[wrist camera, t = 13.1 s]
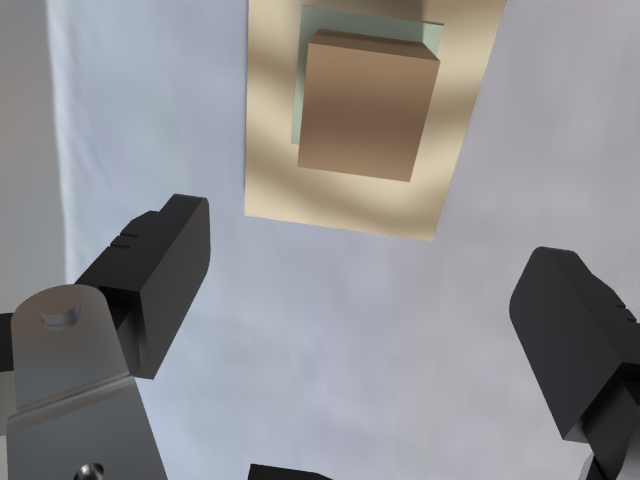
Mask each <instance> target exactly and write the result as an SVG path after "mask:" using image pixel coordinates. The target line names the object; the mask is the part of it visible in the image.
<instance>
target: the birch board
mask: <svg viewBox="0 0 640 480" xmlns="http://www.w3.org/2000/svg"><path fill="white" fill-rule="evenodd" d="M506 2H507V0H249V21H248V69H247V117H246V165H245V213H244V215H245V216H253V217H260V218H267V219H274V220H282V221H289V222H296V223H303V224H311V225H318V226H325V227H332V228H339V229H347V230H354V231H361V232H368V233H376V234H383V235H390V236H397V237H405V238H412V239H419V240H426V241H432V239H433V236H434V233H435V230H436V227H437V223H438V220H439V217H440V214H441V210H442V207H443V204H444V201H445V198H446V194H447V191H448V188H449V185H450V182H451V178H452V175H453V172H454V169H455V166H456V162H457V159H458V156H459V153H460V149H461V146H462V143H463V140H464V137H465V133H466V130H467V127H468V124H469V121H470V117H471V114H472V111H473V108H474V105H475V101H476V98H477V95H478V92H479V88H480V85H481V82H482V79H483V76H484V72H485V69H486V66H487V63H488V60H489V56H490V53H491V50H492V47H493V43H494V40H495V37H496V34H497V31H498V27H499V24H500V21H501V18H502V15H503V11H504V8H505V5H506ZM319 28H320V29H327V30H334V31H341V32H348V33H356V34H363V35H370V36H377V37H385V38H392V39H399V40H406V41H414V42H421V43H424V44H425V45H426V46H427V48H428V49H429V50H430V51H431V52H432V53H433V54H434V55H435V56H436V57H437V58H438V59H439V60H440V61H441V62H440V66H439V70H438V74H437V78H436V82H435V86H434V90H433V94H432V97H431V101H430V105H429V109H428V113H427V117H426V121H425V125H424V129H423V133H422V137H421V141H420V145H419V149H418V153H417V156H416V160H415V164H414V168H413V172H412V176H411V180H410V182H404V181H396V180H389V179H382V178H375V177H367V176H360V175H353V174H346V173H338V172H331V171H324V170H317V169H309V168H302V167H297V163H298V152H299V141H300V131H301V120H302V109H303V98H304V87H305V76H306V66H307V55H308V44H309V42H310V40H311V39H312V37H313V36H314V35H315V33H316V32H317V30H318V29H319Z"/></svg>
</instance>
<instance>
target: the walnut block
mask: <svg viewBox="0 0 640 480" xmlns="http://www.w3.org/2000/svg"><path fill="white" fill-rule="evenodd" d="M440 62H441V61H440V60H439V59H438V58H437V57H436V56H435V55H434V54H433V53H432V52H431V51H430V50H429V49H428V48H427V46H426V45H425V44H424V43H421V42H414V41H406V40H399V39H392V38H385V37H377V36H370V35H363V34H356V33H348V32H341V31H334V30H327V29H320V28H319V29H318V30H317V32H316V33H315V35H314V36H313V37H312V39H311V40H310V42H309V44H308V55H307V66H306V76H305V87H304V98H303V109H302V120H301V131H300V141H299V152H298V163H297V167H302V168H309V169H317V170H324V171H331V172H338V173H346V174H353V175H360V176H367V177H375V178H382V179H389V180H396V181H404V182H410V180H411V176H412V172H413V168H414V164H415V160H416V156H417V153H418V149H419V145H420V141H421V137H422V133H423V129H424V125H425V121H426V117H427V113H428V109H429V105H430V101H431V97H432V94H433V90H434V86H435V82H436V78H437V74H438V70H439V66H440Z"/></svg>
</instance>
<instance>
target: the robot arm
mask: <svg viewBox="0 0 640 480" xmlns="http://www.w3.org/2000/svg"><path fill="white" fill-rule="evenodd" d="M209 262H210V218H209V203H208V200H207V198H203V197H196V196H189V195H182V194H174V195H173V196H172V197H171V198H170V199H169V201H168V202H167V203H166V204H165V205H164V207H163V208H162V209H161V210H160V211H159V212H157V211H148V212H146V213H144V214H143V215H141V216H139V217H137V218H135V219H133V220H131V221H130V223H129V224H128V225H127V226H126V227H125V228H124V229H123V230H122V231H121V232H120V236H117V237H116V238H115V239H114V240H113V241H112V242H111V243H110V247H109V246H108V247H107V248H106V249H105V250H104V251H103V252H102V253H101V254H100V256H99V257H98V258H97V259H96V260H95V261H94V262H93V263H92V264H91V265H90V267H89V268H88V269H87V270H86V271H85V272H84V273H83V274H82V275H81V276H80V278H79V279H78V280H77V281H76V282H75V283H74V284H68V285H61V286H56V287H52V288H48V289H46V290H43V291H40V292H39V293H37V294H34V295H33V296H31V297H29V298H28V299H26V300H25V301H24V302H23V303H22V304H20V305H19V306H18V308H17V309H16V310H15V312H14V313H4V314H0V436H4V435H6V439H7V440H6V441H7V464H8V480H168V478H167V475H166V472H165V469H164V466H163V463H162V460H161V457H160V454H159V451H158V448H157V445H156V442H155V439H154V436H153V433H152V430H151V427H150V424H149V421H148V418H147V414H146V411H145V408H144V405H143V402H142V399H141V396H140V393H139V390H138V387H137V384H136V381H135V379H134V377H138V378H145V379H152V380H153V379H154V377H155V375H156V373H157V371H158V369H159V367H160V365H161V363H162V361H163V359H164V357H165V355H166V353H167V351H168V349H169V347H170V346H171V344H172V342H173V340H174V338H175V336H176V334H177V332H178V330H179V328H180V326H181V324H182V322H183V320H184V318H185V316H186V314H187V312H188V310H189V308H190V306H191V304H192V302H193V300H194V298H195V296H196V294H197V292H198V290H199V288H200V286H201V284H202V282H203V280H204V278H205V276H206V273H207V270H208V267H209ZM625 307H626V306H625V304H624V303H623V302H622V300H621V299H620V298H619V297H618V295H617V294H616V293H615V292H614V290H613V289H611V288H610V287H609V286H608V285H606V284H605V283H604V282H602V281H601V280H600V279H598V278H597V277H596V276H595V275H593V274H592V273H591V272H590V270H589V269H588V268H587V267H586V265H585V264H584V263H583V261H582V260H581V259H580V257H579V256H578V255H577V254H576V253H575V252H574V251H570V250H563V249H556V248H549V247H538V248H536V249H535V250H534V251H533V253H532V255H531V256H530V259H529V261H528V263H527V265H526V267H525V269H524V271H523V273H522V275H521V277H520V279H519V281H518V283H517V285H516V287H515V290H514V292H513V294H512V296H511V299H510V305H509V313H510V319H511V321H512V324H513V326H514V328H515V331H516V333H517V335H518V338H519V340H520V342H521V344H522V347H523V349H524V351H525V354H526V356H527V358H528V361H529V363H530V365H531V368H532V370H533V372H534V374H535V377H536V379H537V381H538V384H539V386H540V388H541V391H542V393H543V395H544V398H545V400H546V402H547V404H548V407H549V409H550V411H551V414H552V416H553V418H554V421H555V423H556V425H557V428H558V430H559V432H560V434H561V437H562V439H563V440H567V441H574V442H581V443H588V444H590V446H591V449H592V451H593V452H592V453H591V454H590V455H589V456H588V457H587V459H586V460H585V462H584V465H583V468H582V471H581V474H580V476H579V479H578V480H640V323H636V320H637V319H636V318H635V317H634V316H633V314H632V313H631V312H630V311H629V309H626V308H625ZM248 480H332V479H330V478H328V477H325V476H323V475H321V474H318V473H314V472H307V471H300V470H293V469H286V468H279V467H272V466H265V465H258V464H251V466H250V470H249V475H248Z"/></svg>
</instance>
